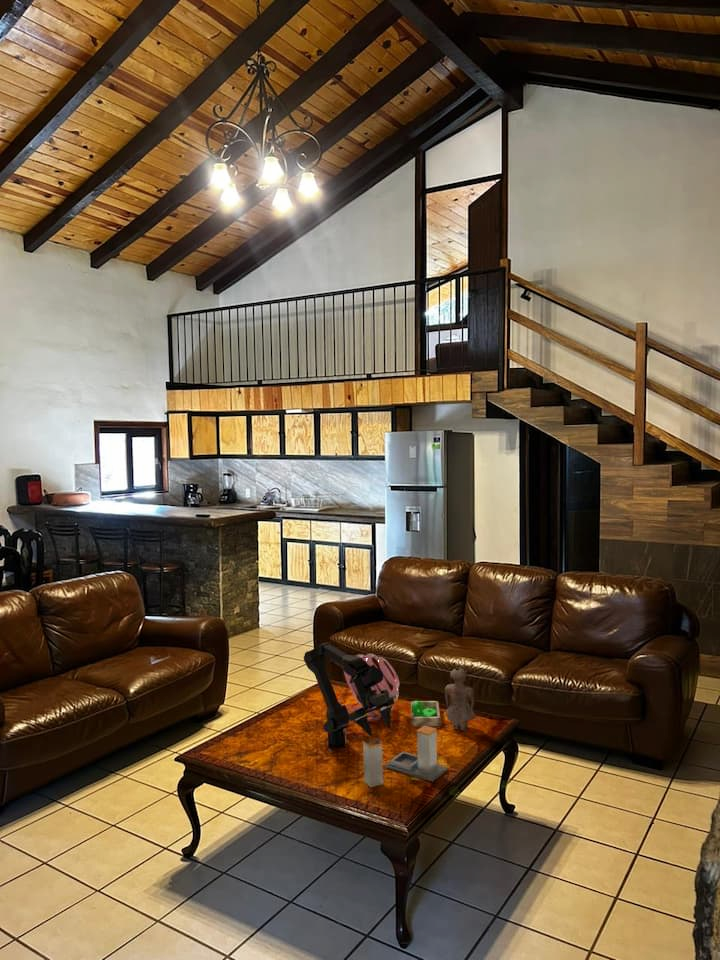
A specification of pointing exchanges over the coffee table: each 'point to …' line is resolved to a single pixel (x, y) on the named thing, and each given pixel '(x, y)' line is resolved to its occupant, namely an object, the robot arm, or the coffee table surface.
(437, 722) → the parts corral
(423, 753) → the housing
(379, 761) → the post
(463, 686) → the clay figurine
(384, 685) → the spiral basket
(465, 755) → the coffee table surface
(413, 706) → the mechanical part
